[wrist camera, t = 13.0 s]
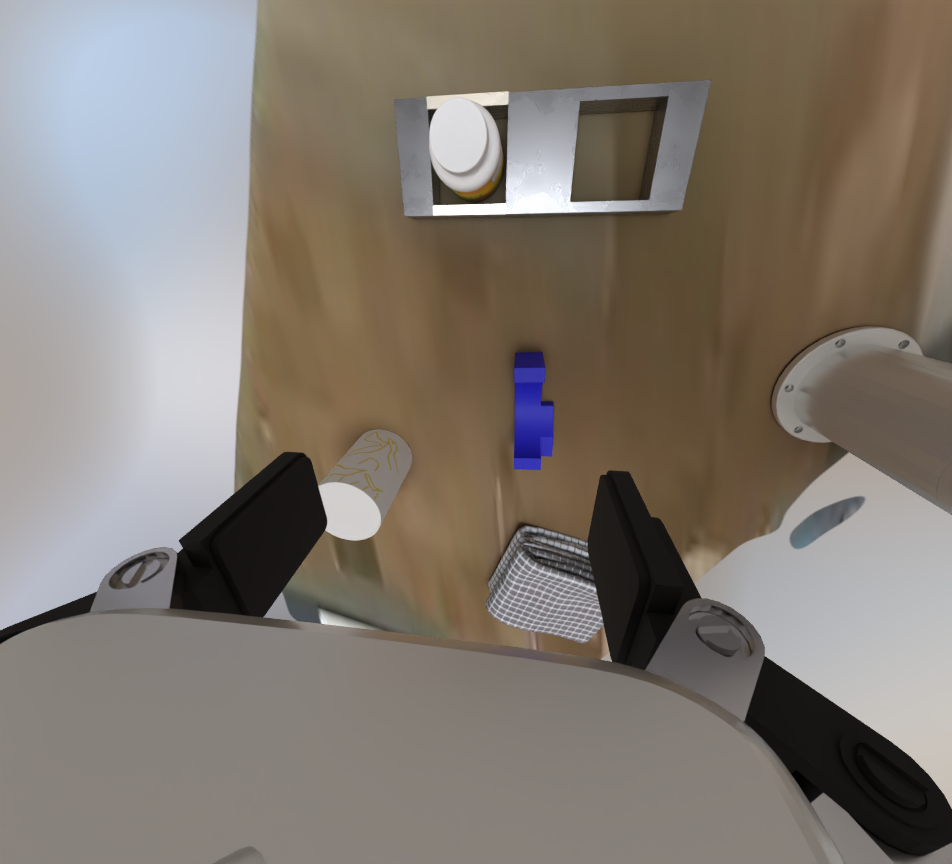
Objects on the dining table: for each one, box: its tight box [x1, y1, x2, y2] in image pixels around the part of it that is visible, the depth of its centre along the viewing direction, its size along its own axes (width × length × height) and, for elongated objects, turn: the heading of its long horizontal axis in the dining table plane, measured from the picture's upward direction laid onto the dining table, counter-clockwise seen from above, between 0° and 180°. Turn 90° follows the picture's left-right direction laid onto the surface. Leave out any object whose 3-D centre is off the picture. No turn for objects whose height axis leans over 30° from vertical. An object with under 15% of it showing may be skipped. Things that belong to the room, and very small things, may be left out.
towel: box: [485, 525, 604, 643], centre depth 51 cm, size 15×18×8 cm
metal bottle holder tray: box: [394, 80, 711, 219], centre depth 29 cm, size 24×8×3 cm, turn 91°
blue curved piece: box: [514, 352, 554, 470], centre depth 39 cm, size 12×4×6 cm, turn 3°
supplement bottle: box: [429, 97, 504, 202], centre depth 27 cm, size 5×5×10 cm
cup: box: [318, 429, 412, 540], centre depth 43 cm, size 8×8×12 cm
